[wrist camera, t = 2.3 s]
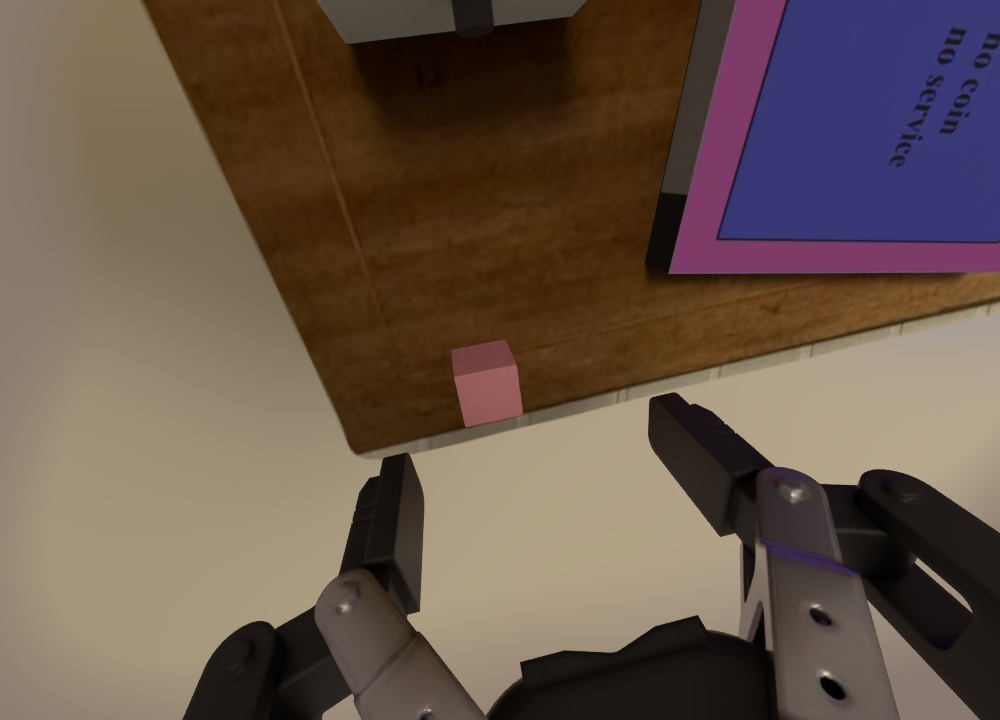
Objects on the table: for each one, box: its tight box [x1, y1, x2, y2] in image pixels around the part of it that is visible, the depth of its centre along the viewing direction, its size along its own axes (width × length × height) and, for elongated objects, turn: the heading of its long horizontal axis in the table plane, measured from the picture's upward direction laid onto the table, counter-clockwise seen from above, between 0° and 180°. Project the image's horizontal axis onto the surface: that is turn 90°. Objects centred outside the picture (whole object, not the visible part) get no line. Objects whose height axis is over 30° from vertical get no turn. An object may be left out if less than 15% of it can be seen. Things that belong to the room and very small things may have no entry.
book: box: [645, 0, 1000, 274], centre depth 23 cm, size 21×3×30 cm
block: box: [451, 339, 523, 427], centre depth 27 cm, size 4×4×4 cm
